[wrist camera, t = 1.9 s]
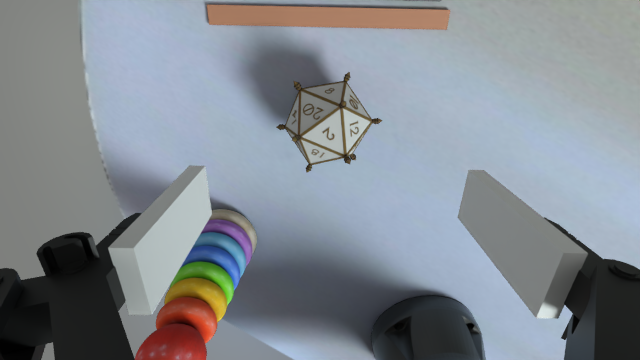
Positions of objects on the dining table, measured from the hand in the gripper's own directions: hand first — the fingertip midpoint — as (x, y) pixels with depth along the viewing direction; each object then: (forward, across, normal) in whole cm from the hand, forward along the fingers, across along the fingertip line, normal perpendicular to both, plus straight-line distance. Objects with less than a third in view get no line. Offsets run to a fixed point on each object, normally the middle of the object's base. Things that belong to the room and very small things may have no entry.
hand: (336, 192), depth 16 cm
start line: (+18, 0, -9) cm, 20 cm away
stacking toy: (+18, +12, +15) cm, 27 cm away
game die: (+19, 0, 0) cm, 19 cm away
